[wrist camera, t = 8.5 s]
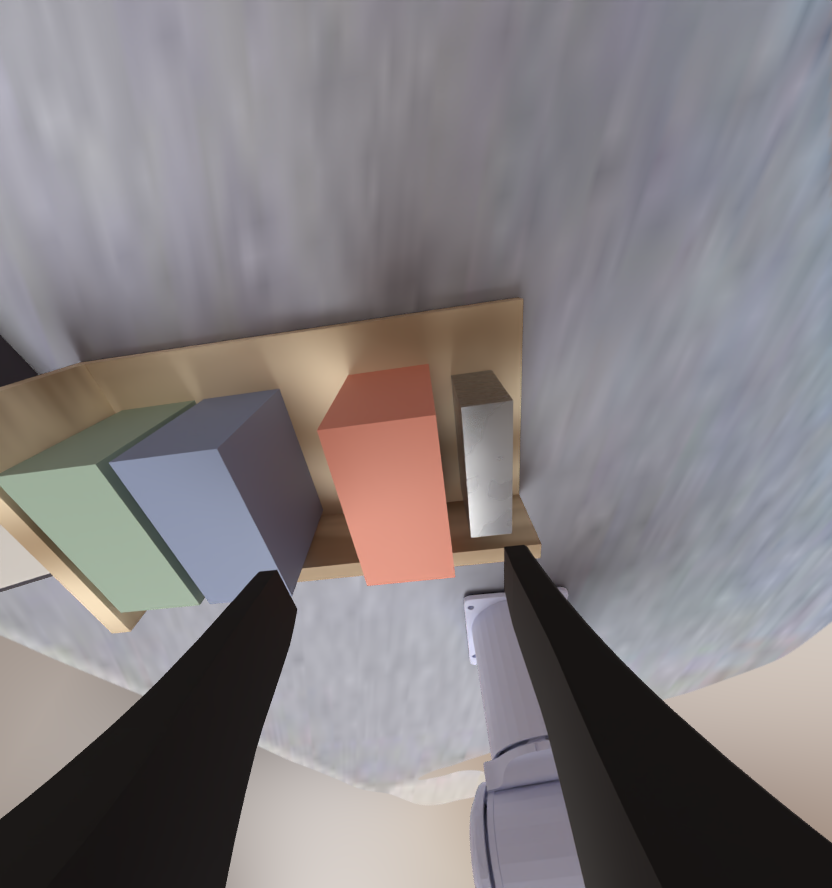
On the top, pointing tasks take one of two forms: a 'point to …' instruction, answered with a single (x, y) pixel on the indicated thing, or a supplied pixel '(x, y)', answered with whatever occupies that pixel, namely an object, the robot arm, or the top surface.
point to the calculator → (3, 556)
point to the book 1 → (104, 512)
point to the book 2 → (227, 491)
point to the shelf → (307, 401)
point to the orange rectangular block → (390, 474)
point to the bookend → (484, 451)
